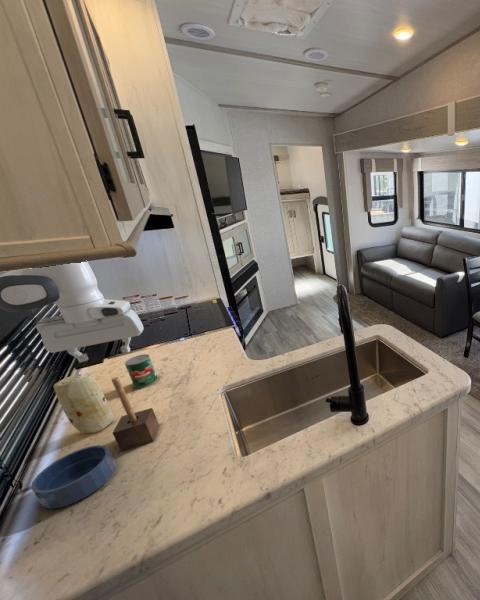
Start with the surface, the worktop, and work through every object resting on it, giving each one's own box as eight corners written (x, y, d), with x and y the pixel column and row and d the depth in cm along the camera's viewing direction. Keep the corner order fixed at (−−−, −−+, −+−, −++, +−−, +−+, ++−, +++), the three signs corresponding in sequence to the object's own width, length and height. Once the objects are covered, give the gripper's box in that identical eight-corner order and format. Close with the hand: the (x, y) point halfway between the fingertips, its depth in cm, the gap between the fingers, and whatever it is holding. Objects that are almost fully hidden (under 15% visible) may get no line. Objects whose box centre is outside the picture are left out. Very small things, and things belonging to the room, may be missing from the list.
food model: (116, 416, 108) (93, 367, 101) (116, 425, 103) (91, 375, 96) (77, 430, 102) (50, 379, 95) (75, 441, 97) (46, 389, 90)
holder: (121, 451, 92) (112, 432, 90) (129, 433, 99) (121, 416, 97) (153, 441, 95) (145, 423, 93) (159, 424, 102) (152, 407, 100)
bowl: (29, 520, 73) (16, 503, 71) (59, 474, 86) (50, 458, 83) (105, 493, 79) (96, 476, 77) (124, 453, 91) (116, 438, 89)
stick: (137, 440, 96) (110, 380, 89) (138, 436, 98) (112, 378, 90) (143, 438, 97) (117, 379, 89) (145, 434, 98) (119, 376, 91)
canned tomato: (142, 389, 122) (132, 365, 118) (129, 386, 125) (119, 363, 121) (162, 378, 129) (153, 355, 125) (149, 375, 132) (140, 353, 128)
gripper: (25, 324, 75) (50, 372, 80) (128, 307, 83) (146, 351, 88) (39, 316, 81) (62, 361, 85) (135, 300, 89) (151, 342, 94)
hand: (105, 356), depth 87 cm, fingers open, 8 cm apart
